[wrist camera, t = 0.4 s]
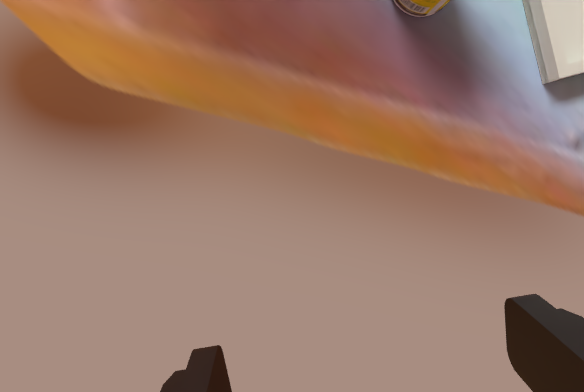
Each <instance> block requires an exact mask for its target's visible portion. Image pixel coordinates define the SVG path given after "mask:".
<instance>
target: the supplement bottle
mask: <svg viewBox="0 0 584 392" xmlns="http://www.w3.org/2000/svg"><path fill="white" fill-rule="evenodd" d="M449 1H450V0H394V2H395V3H396V5H397V6H398V7H399V8H400V9H401V10H402V11H404V12H405V13H407V14H409V15H412V16H416V17H425V16H430V15H432V14H435V13H436V12H438V11H439V10H441V9H442V8H443V7H444V6H445V5H446V4H447V3H448V2H449Z"/></svg>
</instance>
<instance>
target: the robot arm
mask: <svg viewBox="0 0 584 392" xmlns="http://www.w3.org/2000/svg"><path fill="white" fill-rule="evenodd" d="M505 323H506V340H507V341H506V342H507V352H508V356H509V359H510V362H511V364H512V366H513V368H514V370H515V371H516V372H517V374H518V375H519V376H520V377H521V378H522V379H523V381H524V382H525V383H526V384H527V385H528V386H529V387H530V389H531V390H532V391H533V392H584V318H583V317H581V316H579V315H576V314H573V313H571V312H569V311H566V310H564V309H556V308H554V307H553V306H552V305H551V304H549V303H548V302H547V301H545V300H544V299H543V298H541V297H540V296H539V295H537V294H531V295H525V296H519V297H513V298H508V299H506V301H505ZM160 392H232V391H231V386H230V382H229V377H228V373H227V369H226V364H225V359H224V355H223V351H222V348H221V346H219V345H217V346H211V347H205V348H199V349H194V350H193V351H192V353H191V356H190V359H189V362H188V365H187V368H186V370H180V371H175V372H174V373H173V374H172V376H171V377H170V378H169V379H168V380H167V381H166V382H165V383H164V384H163V387H162V389H161V391H160Z"/></svg>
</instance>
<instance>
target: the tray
mask: <svg viewBox="0 0 584 392" xmlns="http://www.w3.org/2000/svg"><path fill="white" fill-rule="evenodd" d="M523 5H524V9H525V13H526V17H527V21H528V25H529V30H530V34H531V38H532V42H533V46H534V50H535V54H536V59H537V63H538V67H539V71H540V75H541V79H542V84H545V83H549V82H553V81H556V80H560V79H564V78H567V77H571V76H575V75H579V74H582V73H584V0H523Z"/></svg>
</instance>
